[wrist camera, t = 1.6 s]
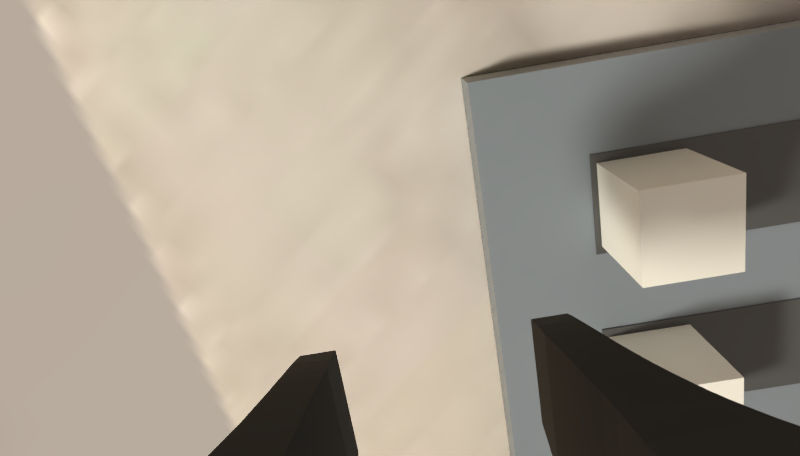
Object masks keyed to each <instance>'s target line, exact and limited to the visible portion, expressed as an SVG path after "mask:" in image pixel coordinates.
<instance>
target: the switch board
mask: <svg viewBox="0 0 800 456" xmlns="http://www.w3.org/2000/svg"><path fill="white" fill-rule="evenodd" d="M461 82H462V89H463V97H464V104H465V112H466V120H467V127H468V135H469V143H470V150H471V158H472V165H473V173H474V181H475V188H476V196H477V204H478V211H479V219H480V226H481V234H482V242H483V249H484V257H485V264H486V272H487V280H488V287H489V295H490V303H491V310H492V318H493V325H494V333H495V341H496V348H497V356H498V364H499V371H500V379H501V386H502V394H503V402H504V409H505V417H506V425H507V432H508V440H509V447H510V455H511V456H552V453H551V450H550V446H549V443H548V440H547V437H546V434H545V430H544V427H543V424H542V417H541V408H540V399H539V390H538V381H537V371H536V362H535V353H534V344H533V335H532V326H531V319H535V318H541V317H548V316H554V315H560V314H566V313H568V314H570V315H572V316H573V317H575V318H577V319H579V320H580V321H582V322H584V323H585V324H587V325H589V326H590V327H592V328H594V329H595V330H597V331H599V332H600V333H602V334H604V335H605V336H607V337H613V336H619V335H625V334H631V333H638V332H644V331H650V330H657V329H663V328H669V327H676V326H682V325H688V324H690V325H691V326H692V327H693V328H694V329H695V330H696V331H697V332H698V333H699V334H700V335H701V336H702V337H703V338H704V339H705V340H706V341H707V342H708V343H709V344H710V345H711V346H712V347H713V348H714V349H715V350H716V351H718V352H719V353H720V354H721V355H722V356H723V357H724V358H725V359H726V360H727V361H728V362H729V363H730V364H731V365H732V366H733V367H734V368H735V369H736V370H737V371H738V372H739V373H740V374H741V375H742V376H743V377H744V405H745V406H747V407H750V408H753V409H755V410H758V411H760V412H763V413H765V414H768V415H770V416H773V417H776V418H778V419H781V420H784V421H787V422H790V423H793V424H796V425H799V426H800V20H796V21H791V22H785V23H779V24H773V25H767V26H761V27H756V28H750V29H744V30H738V31H732V32H727V33H721V34H715V35H709V36H703V37H697V38H692V39H686V40H680V41H674V42H668V43H662V44H657V45H651V46H645V47H639V48H633V49H627V50H622V51H616V52H610V53H604V54H598V55H592V56H587V57H581V58H575V59H569V60H563V61H557V62H552V63H546V64H540V65H534V66H528V67H522V68H517V69H511V70H505V71H499V72H493V73H488V74H482V75H476V76H470V77H464V78H461ZM684 148H687V149H690V150H692V151H695V152H697V153H699V154H702V155H704V156H707V157H709V158H712V159H714V160H716V161H719V162H721V163H724V164H726V165H728V166H731V167H733V168H736V169H738V170H740V171H743V172H745V173H746V247H745V272H740V273H734V274H728V275H722V276H716V277H709V278H703V279H697V280H691V281H684V282H678V283H672V284H666V285H660V286H653V287H647V288H642V287H641V286H640V285H639V284H638V283H637V282H636V281H635V280H634V278H633V277H632V276H631V275H630V274H629V273H628V272H627V271H626V270H625V269H624V268H623V267H622V266H621V265H620V264H619V263H618V262H617V261H616V260H615V259H614V258H613V257H612V256H611V255H610V254H609V253H608V252H607V251H606V250H605V249H604V248H603V247H602V238H601V223H600V208H599V193H598V177H597V163H600V162H606V161H612V160H618V159H624V158H630V157H636V156H642V155H648V154H654V153H660V152H666V151H672V150H678V149H684Z"/></svg>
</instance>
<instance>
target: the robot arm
mask: <svg viewBox="0 0 800 456" xmlns="http://www.w3.org/2000/svg"><path fill="white" fill-rule="evenodd" d="M531 326H532V335H533V344H534V353H535V362H536V371H537V381H538V390H539V399H540V408H541V417H542V424H543V427H544V430H545V434H546V437H547V440H548V443H549V446H550V450H551V453H552V456H800V426H799V425H796V424H793V423H790V422H787V421H784V420H781V419H778V418H776V417H773V416H770V415H768V414H765V413H763V412H760V411H758V410H755V409H753V408H750V407H747V406H745V405H742V404H740V403H737V402H735V401H732V400H730V399H727V398H725V397H723V396H720V395H718V394H716V393H713V392H711V391H709V390H707V389H705V388H703V387H701V386H698V385H696V384H694V383H692V382H690V381H688V380H686V379H684V378H682V377H680V376H678V375H676V374H674V373H672V372H670V371H668V370H666V369H664V368H662V367H660V366H658V365H656V364H654V363H653V362H651V361H649V360H647V359H645V358H643V357H642V356H640V355H638V354H636V353H634V352H633V351H631V350H629V349H627V348H626V347H624V346H622V345H621V344H619V343H617V342H615V341H614V340H612V339H610V338H609V337H607V336H605V335H604V334H602V333H600V332H599V331H597V330H595V329H594V328H592V327H590V326H589V325H587V324H585V323H584V322H582V321H580V320H579V319H577V318H575V317H573V316H572V315H570V314H568V313H566V314H560V315H554V316H548V317H541V318H535V319H531ZM208 456H358V449H357V444H356V440H355V435H354V431H353V426H352V422H351V417H350V413H349V409H348V404H347V400H346V395H345V391H344V386H343V382H342V377H341V373H340V368H339V364H338V360H337V355H336V351H329V352H323V353H317V354H310V355H304V356H300V357H299V358H298V359H297V360H296V361H295V362H294V363H293V364H292V365H291V366H290V367H289V368H288V370H287V371H286V372H285V373H284V374H283V375H282V377H281V378H280V379H279V380H278V381H277V382H276V384H275V385H274V386H273V387H272V388H271V389H270V391H269V392H268V393H267V394H266V395H265V396H264V397H263V398H262V400H261V401H260V402H259V403H258V404H257V405H256V406H255V407H254V409H253V410H252V411H251V412H250V413H249V414H248V415H247V416H246V418H245V419H244V420H243V421H242V422H241V423H240V424H239V425H238V426H237V427H236V428H235V429H234V430H233V431H232V432H231V433H230V434H229V435H228V436H227V437H226V438H225V439H224V440H223V441H222V442H221V443H220V444H219V446H217V447H216V448H215V449H214V450H213V451H212V453H210V454H209V455H208Z"/></svg>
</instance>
